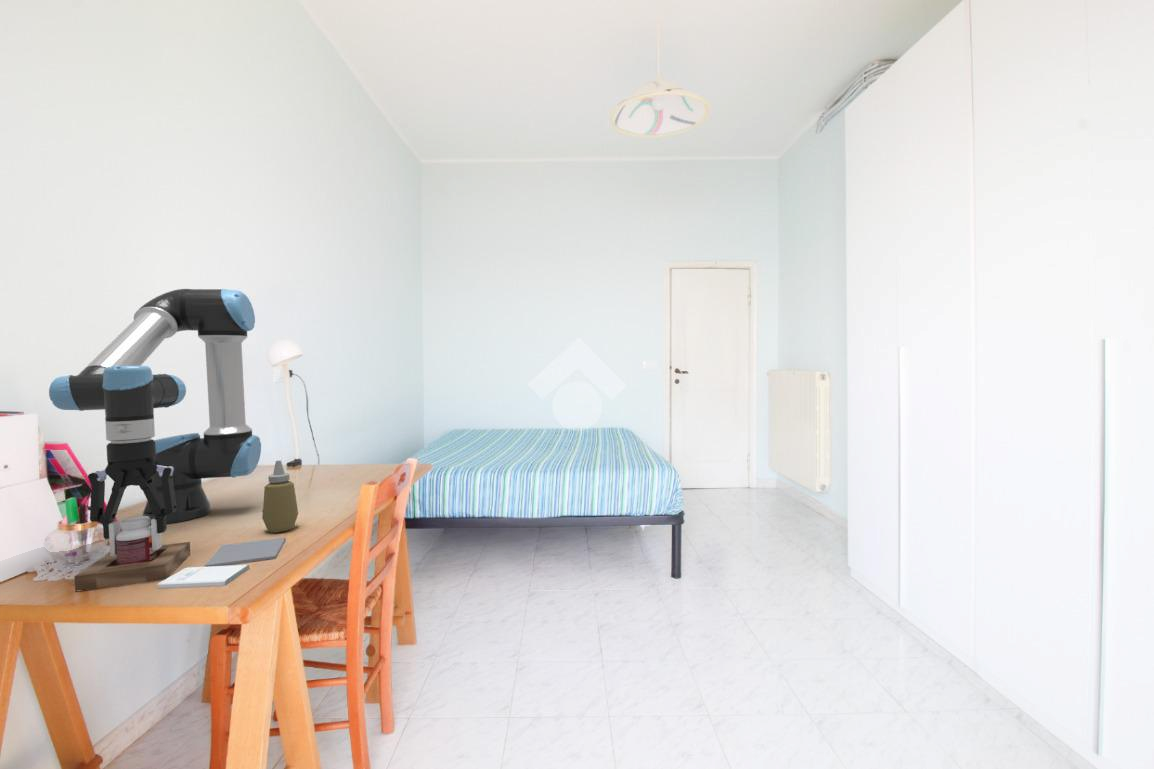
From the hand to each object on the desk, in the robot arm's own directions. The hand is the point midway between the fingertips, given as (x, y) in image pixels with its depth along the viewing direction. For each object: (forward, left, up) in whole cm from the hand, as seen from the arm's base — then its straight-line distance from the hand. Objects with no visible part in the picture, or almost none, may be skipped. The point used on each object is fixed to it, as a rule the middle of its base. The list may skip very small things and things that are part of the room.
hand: (136, 550), depth 104 cm
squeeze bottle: (-19, +23, -5) cm, 30 cm away
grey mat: (-3, +19, -4) cm, 20 cm away
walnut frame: (0, 0, -4) cm, 4 cm away
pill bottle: (0, 0, -5) cm, 5 cm away
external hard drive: (+9, +14, -5) cm, 18 cm away
